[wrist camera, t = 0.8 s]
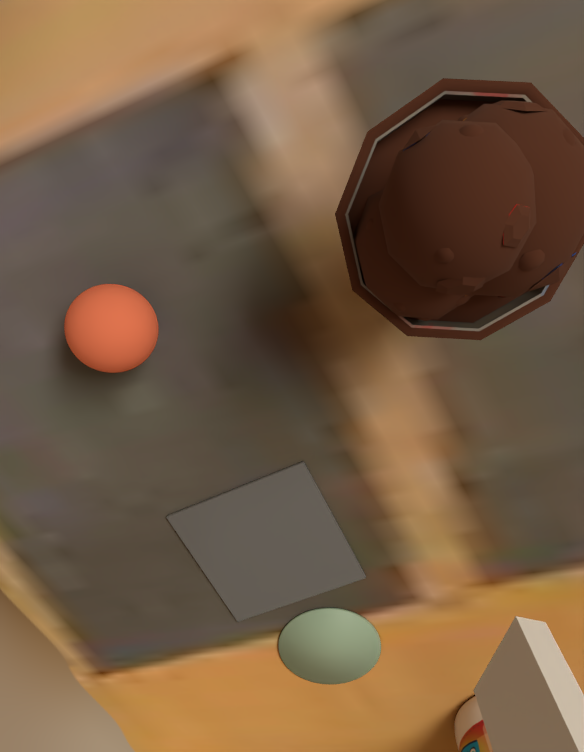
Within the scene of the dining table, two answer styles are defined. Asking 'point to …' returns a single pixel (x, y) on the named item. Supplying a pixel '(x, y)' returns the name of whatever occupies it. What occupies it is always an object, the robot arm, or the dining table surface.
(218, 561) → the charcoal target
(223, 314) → the dining table surface
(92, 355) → the ball
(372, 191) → the ice cream bowl
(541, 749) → the robot arm
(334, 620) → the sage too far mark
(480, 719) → the fruit juice
